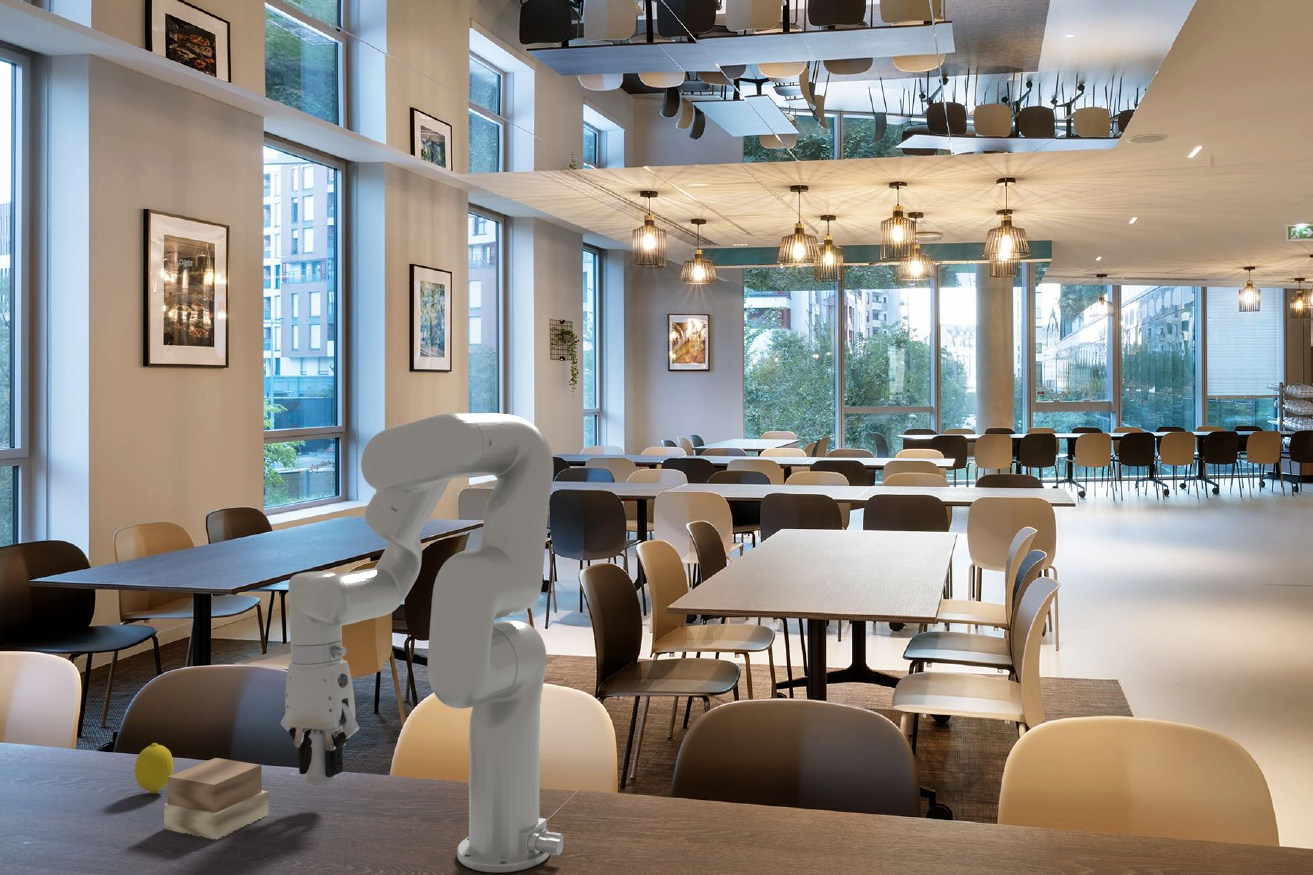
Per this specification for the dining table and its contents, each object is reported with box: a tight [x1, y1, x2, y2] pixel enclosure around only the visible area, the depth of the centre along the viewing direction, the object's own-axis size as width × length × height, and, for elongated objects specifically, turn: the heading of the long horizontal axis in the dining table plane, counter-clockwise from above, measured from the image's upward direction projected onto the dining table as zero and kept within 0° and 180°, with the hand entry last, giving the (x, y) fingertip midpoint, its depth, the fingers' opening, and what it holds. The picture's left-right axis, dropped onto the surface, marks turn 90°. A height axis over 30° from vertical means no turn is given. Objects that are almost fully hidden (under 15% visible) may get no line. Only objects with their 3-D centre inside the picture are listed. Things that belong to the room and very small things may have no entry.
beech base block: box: [163, 789, 270, 841], centre depth 152 cm, size 10×10×4 cm
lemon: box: [134, 742, 175, 795], centre depth 164 cm, size 6×6×8 cm
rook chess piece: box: [305, 729, 337, 786], centre depth 158 cm, size 4×4×8 cm
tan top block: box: [166, 757, 263, 813], centre depth 152 cm, size 9×9×4 cm
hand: (321, 771), depth 158 cm, fingers closed on rook chess piece, 4 cm apart
